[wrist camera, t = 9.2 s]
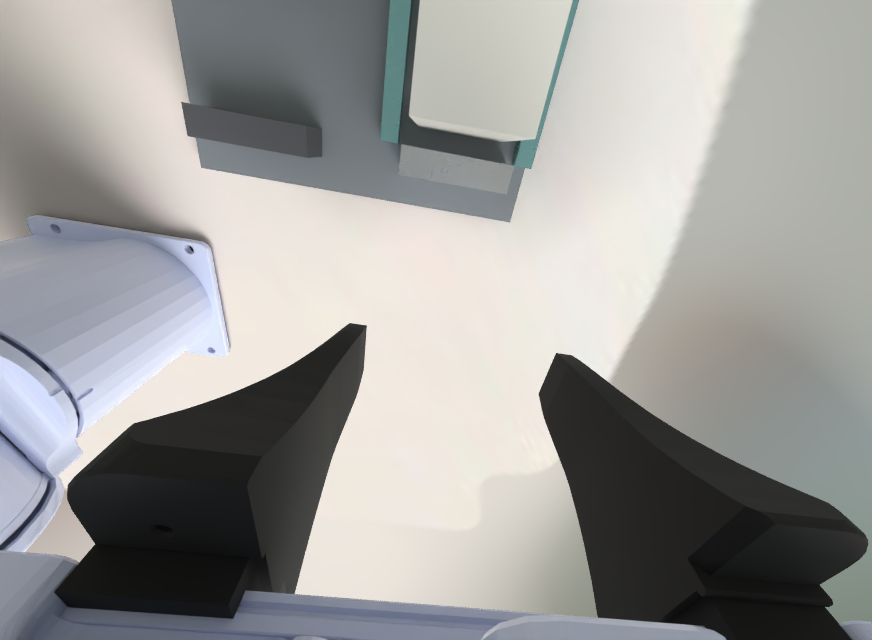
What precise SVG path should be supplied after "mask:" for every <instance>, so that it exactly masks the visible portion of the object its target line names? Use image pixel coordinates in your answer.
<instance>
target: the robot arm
mask: <svg viewBox="0 0 872 640" xmlns="http://www.w3.org/2000/svg"><path fill="white" fill-rule="evenodd" d="M26 221H27V225H28V227H29V229H30V231H31V234H32V235H29V236H25V237H20V238H15V239H11V240H6V241H2V242H0V640H872V622H865V621H847V622H842V623H838V622H837V621H836V620H835V619H834V617H833V616H832V615H831V614H830V613H829V611H828V610H827V609H826V608H825V607H830V606H832V605H833V601H832V599H831V598H830V597H829V596H828V594H827V593H826V592H825V591H824V590H823V589H822V588H821V587H820V584H821V583H823V582H825V581H826V580H828V579H829V578H831V577H833V576H835V575H836V574H838V573H840V572H841V571H843V570H845V569H846V568H848V567H850V566H851V565H852V564H854V563H855V562H856V561H858V560H859V559H860V558H861V557H862V556H863V555H864V554H865V552H866V550H867V546H868V540H867V538H866V535H865V534H864V533H863V532H862V531H861V530H860V529H859V528H858V527H857V526H855V525H854V524H853V523H852V522H851V521H850V520H849V519H848V518H847V517H846V516H844V515H843V514H842V513H841V512H840V511H839V510H837V509H836V508H835V507H833V506H832V505H830V504H829V503H827V502H825V501H822V500H820V499H818V498H815V497H813V496H810V495H808V494H806V493H803V492H801V491H799V490H796V489H794V488H791V487H789V486H787V485H784V484H782V483H780V482H778V481H775V480H773V479H771V478H768V477H766V476H764V475H762V474H760V473H758V472H756V471H754V470H751V469H749V468H747V467H745V466H743V465H741V464H739V463H737V462H735V461H733V460H731V459H729V458H727V457H725V456H723V455H721V454H719V453H717V452H715V451H714V450H712V449H710V448H708V447H706V446H704V445H702V444H701V443H699V442H697V441H695V440H693V439H691V438H690V437H688V436H686V435H685V434H683V433H681V432H680V431H678V430H676V429H675V428H673V427H672V426H670V425H668V424H667V423H665V422H663V421H662V420H660V419H659V418H657V417H655V416H654V415H653V414H651V413H649V412H648V411H647V410H645V409H644V408H642V407H641V406H639V405H638V404H637V403H635V402H634V401H633V400H631V399H630V398H628V397H627V396H626V395H624V394H623V393H621V392H620V391H619V390H617V389H616V388H615V387H614V386H612V385H611V384H610V383H609V382H607V381H606V380H605V379H603V378H602V377H601V376H599V375H598V374H597V373H596V372H594V371H593V370H592V369H590V368H589V367H588V366H586V365H585V364H584V363H582V362H581V361H580V360H578V359H577V358H575V357H573V356H572V355H566V354H559V353H556V355H555V357H554V359H553V362H552V364H551V366H550V369H549V371H548V373H547V376H546V378H545V380H544V383H543V385H542V387H541V390H540V392H539V397H540V402H541V407H542V411H543V415H544V419H545V422H546V424H547V427H548V430H549V432H550V435H551V438H552V440H553V443H554V446H555V448H556V451H557V453H558V456H559V458H560V461H561V464H562V466H563V469H564V471H565V474H566V477H567V480H568V483H569V486H570V490H571V493H572V497H573V501H574V505H575V508H576V512H577V516H578V520H579V524H580V528H581V533H582V537H583V541H584V546H585V550H586V556H587V561H588V565H589V570H590V575H591V580H592V586H593V592H594V597H595V603H596V609H597V615H598V618H595V617H582V616H569V615H556V614H541V613H530V612H517V611H503V610H491V609H479V608H466V607H453V606H439V605H427V604H414V603H401V602H388V601H375V600H362V599H350V598H337V597H323V596H311V595H298V594H294V593H295V590H296V586H297V582H298V578H299V574H300V570H301V566H302V563H303V559H304V555H305V551H306V547H307V544H308V540H309V536H310V533H311V529H312V525H313V521H314V518H315V514H316V511H317V507H318V504H319V500H320V497H321V493H322V490H323V486H324V483H325V479H326V476H327V473H328V469H329V466H330V462H331V459H332V456H333V453H334V451H335V448H336V445H337V443H338V440H339V438H340V435H341V433H342V430H343V428H344V425H345V423H346V420H347V418H348V416H349V413H350V411H351V408H352V406H353V403H354V401H355V398H356V396H357V393H358V389H359V386H360V382H361V378H362V374H363V370H364V356H365V342H366V328H367V326H366V325H359V324H352V323H349V324H348V325H347V326H345V327H344V328H343V329H341V330H340V331H339V332H338V333H336V334H335V335H334V336H332V337H331V338H330V339H329V340H327V341H326V342H325V343H323V344H322V345H320V346H319V347H318V348H316V349H315V350H314V351H312V352H311V353H309V354H308V355H306V356H305V357H303V358H301V359H300V360H298V361H297V362H295V363H294V364H292V365H290V366H288V367H287V368H285V369H283V370H281V371H279V372H277V373H275V374H274V375H272V376H270V377H268V378H266V379H263V380H261V381H259V382H257V383H254V384H252V385H250V386H247V387H245V388H243V389H241V390H238V391H236V392H233V393H231V394H228V395H226V396H223V397H220V398H217V399H215V400H212V401H209V402H206V403H203V404H200V405H197V406H194V407H191V408H188V409H185V410H181V411H178V412H174V413H170V414H167V415H163V416H160V417H156V418H153V419H149V420H146V421H142V422H138V423H134V424H133V425H131V426H130V427H129V428H128V429H127V430H126V431H124V432H123V433H122V434H121V435H120V436H119V437H118V438H117V439H116V440H114V441H113V442H112V443H111V444H110V445H109V446H108V447H107V448H106V449H104V450H103V451H102V452H101V453H100V454H99V455H98V456H97V457H96V458H95V459H93V460H92V461H91V462H90V463H89V464H88V465H87V466H86V467H85V468H84V469H82V470H81V471H80V472H79V473H78V474H77V475H76V476H75V477H74V478H73V479H72V481H71V482H70V483H69V484H68V491H67V500H68V502H69V504H70V506H71V509H72V511H73V512H74V514H75V515H76V517H77V518H78V519H79V521H80V522H81V524H82V525H83V527H84V528H85V529H86V531H87V532H88V534H89V535H90V537H91V538H92V540H93V541H94V542H95V545H94V546H93V548H92V549H91V550H90V551H89V552H88V553H87V555H86V556H85V557H84V558H83V559H82V560H81V562H80V563H79V562H77V561H76V560H73V559H71V558H68V557H65V556H59V555H50V554H39V553H27V552H25V551H26V550H27V549H28V548H29V547H30V546H31V545H32V543H33V542H34V541H35V540H36V538H37V537H38V536H39V535H40V534H41V533H42V532H43V530H44V529H45V528H46V526H47V525H48V524H49V522H50V521H51V520H52V518H53V517H54V515H55V513H56V511H57V509H58V508H59V506H60V503H61V501H62V498H63V494H64V486H63V483H62V480H61V478H60V477H59V476H58V475H59V474H60V473H61V472H62V471H64V470H65V469H66V468H67V467H68V466H69V465H71V464H72V463H73V462H74V461H75V460H76V459H77V458H79V457H80V456H81V455H82V454H83V451H82V450H81V448H80V447H79V446H78V444H77V441H76V438H77V437H79V436H80V435H81V434H82V433H84V432H85V431H86V430H87V429H89V428H90V427H91V426H92V425H94V424H95V423H96V422H97V421H99V420H100V419H101V418H102V417H104V416H105V415H106V414H107V413H108V412H110V411H111V410H112V409H113V408H115V407H116V406H117V405H118V404H120V403H121V402H122V401H123V400H125V399H126V398H127V397H128V396H130V395H131V394H132V393H133V392H135V391H136V390H137V389H138V388H140V387H141V386H142V385H143V384H144V383H146V382H147V381H148V380H149V379H151V378H152V377H153V376H154V375H156V374H157V373H158V372H159V371H161V370H162V369H163V368H164V367H166V366H167V365H168V364H169V363H171V362H172V361H173V360H174V359H176V358H177V357H178V356H179V355H180V354H182V353H183V352H188V353H195V354H203V355H210V356H218V357H224V356H226V355H227V354H228V353H229V352H230V348H229V343H228V338H227V332H226V327H225V321H224V316H223V311H222V305H221V300H220V294H219V289H218V284H217V278H216V273H215V267H214V262H213V257H212V251H211V248H210V247H209V245H208V244H206V243H205V242H203V241H198V240H192V239H186V238H179V237H173V236H167V235H161V234H154V233H148V232H142V231H136V230H129V229H123V228H117V227H111V226H104V225H98V224H92V223H85V222H79V221H73V220H67V219H60V218H54V217H48V216H42V215H34V216H29V217H28V218H27V220H26ZM58 226H59V227H60V228H59V227H58ZM189 246H191V247H192V248H193V249H194V252H193V251H192V250H190V248H189ZM211 347H212V348H214V349H215V350H214V349H212V348H211Z"/></svg>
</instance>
